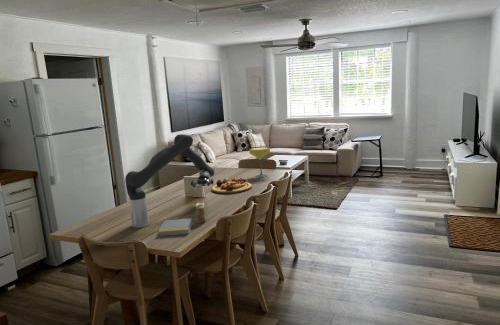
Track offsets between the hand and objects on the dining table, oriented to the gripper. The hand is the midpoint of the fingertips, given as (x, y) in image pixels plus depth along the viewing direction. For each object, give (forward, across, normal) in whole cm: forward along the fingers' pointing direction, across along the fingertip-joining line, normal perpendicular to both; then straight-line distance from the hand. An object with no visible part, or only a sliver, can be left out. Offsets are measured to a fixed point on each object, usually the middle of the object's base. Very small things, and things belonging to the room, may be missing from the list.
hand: (201, 185), depth 235 cm
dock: (+23, -13, +20) cm, 33 cm away
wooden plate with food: (-62, +15, +21) cm, 67 cm away
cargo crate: (+11, 0, +20) cm, 23 cm away
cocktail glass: (-98, +39, +21) cm, 107 cm away
